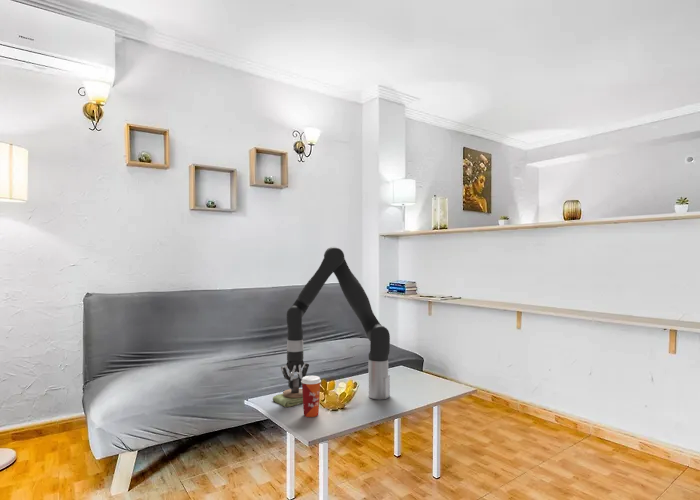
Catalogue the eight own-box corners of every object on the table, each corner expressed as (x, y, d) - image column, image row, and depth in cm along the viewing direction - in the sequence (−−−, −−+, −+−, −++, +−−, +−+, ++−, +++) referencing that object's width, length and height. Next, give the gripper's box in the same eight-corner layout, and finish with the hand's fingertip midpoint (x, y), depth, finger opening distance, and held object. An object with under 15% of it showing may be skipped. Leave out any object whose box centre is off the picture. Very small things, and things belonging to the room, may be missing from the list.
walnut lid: (311, 392, 193) (311, 377, 193) (299, 399, 183) (299, 383, 183) (291, 389, 198) (291, 374, 198) (278, 396, 188) (278, 380, 188)
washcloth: (319, 400, 191) (319, 393, 191) (285, 409, 179) (285, 402, 180) (303, 394, 201) (303, 387, 201) (270, 401, 190) (270, 394, 190)
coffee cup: (313, 419, 166) (313, 381, 167) (296, 415, 170) (297, 378, 171) (325, 413, 173) (325, 376, 174) (309, 409, 178) (309, 374, 178)
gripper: (284, 352, 184) (284, 392, 183) (312, 349, 192) (312, 386, 192) (277, 350, 190) (277, 388, 189) (304, 346, 198) (304, 383, 198)
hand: (295, 387), depth 191 cm, fingers closed on walnut lid, 3 cm apart
